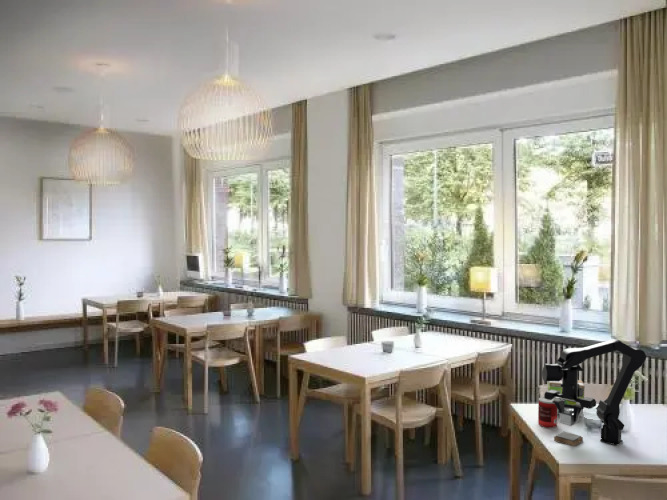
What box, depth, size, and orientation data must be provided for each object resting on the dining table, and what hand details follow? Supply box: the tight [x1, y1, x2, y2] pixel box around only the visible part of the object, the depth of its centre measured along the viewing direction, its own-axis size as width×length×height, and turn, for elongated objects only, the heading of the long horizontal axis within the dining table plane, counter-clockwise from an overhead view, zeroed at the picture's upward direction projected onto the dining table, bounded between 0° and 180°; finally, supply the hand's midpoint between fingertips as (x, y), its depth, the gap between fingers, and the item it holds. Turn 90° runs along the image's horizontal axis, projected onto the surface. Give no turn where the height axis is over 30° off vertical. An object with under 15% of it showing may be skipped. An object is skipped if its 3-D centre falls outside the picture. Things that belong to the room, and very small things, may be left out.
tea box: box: [547, 379, 586, 418], centre depth 264 cm, size 15×10×15 cm
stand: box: [553, 431, 584, 447], centre depth 228 cm, size 8×8×2 cm
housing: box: [559, 409, 580, 427], centre depth 228 cm, size 4×7×5 cm, turn 132°
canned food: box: [537, 396, 558, 429], centre depth 247 cm, size 8×8×11 cm
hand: (569, 420), depth 228 cm, fingers closed on housing, 4 cm apart
